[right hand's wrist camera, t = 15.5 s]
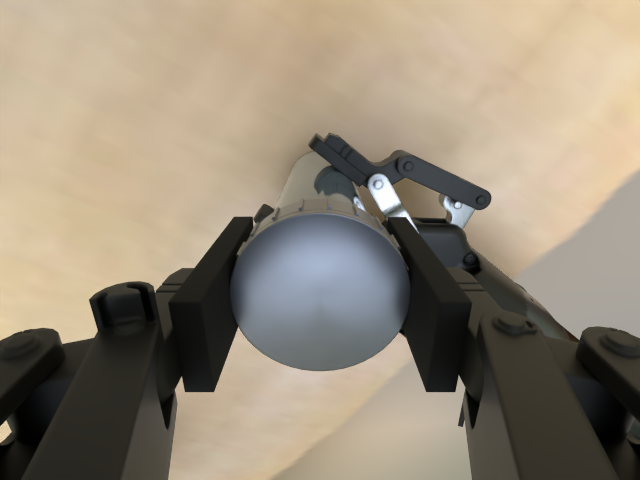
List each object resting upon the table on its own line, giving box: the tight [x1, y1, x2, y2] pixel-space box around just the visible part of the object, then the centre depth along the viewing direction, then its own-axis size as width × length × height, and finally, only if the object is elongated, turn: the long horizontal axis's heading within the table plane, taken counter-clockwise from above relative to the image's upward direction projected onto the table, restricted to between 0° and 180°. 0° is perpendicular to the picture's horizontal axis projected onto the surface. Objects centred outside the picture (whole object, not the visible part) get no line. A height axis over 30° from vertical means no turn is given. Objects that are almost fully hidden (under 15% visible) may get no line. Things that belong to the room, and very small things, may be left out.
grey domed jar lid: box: [229, 197, 411, 371], centre depth 11 cm, size 6×6×2 cm
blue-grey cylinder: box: [273, 151, 368, 213], centre depth 19 cm, size 5×5×17 cm
